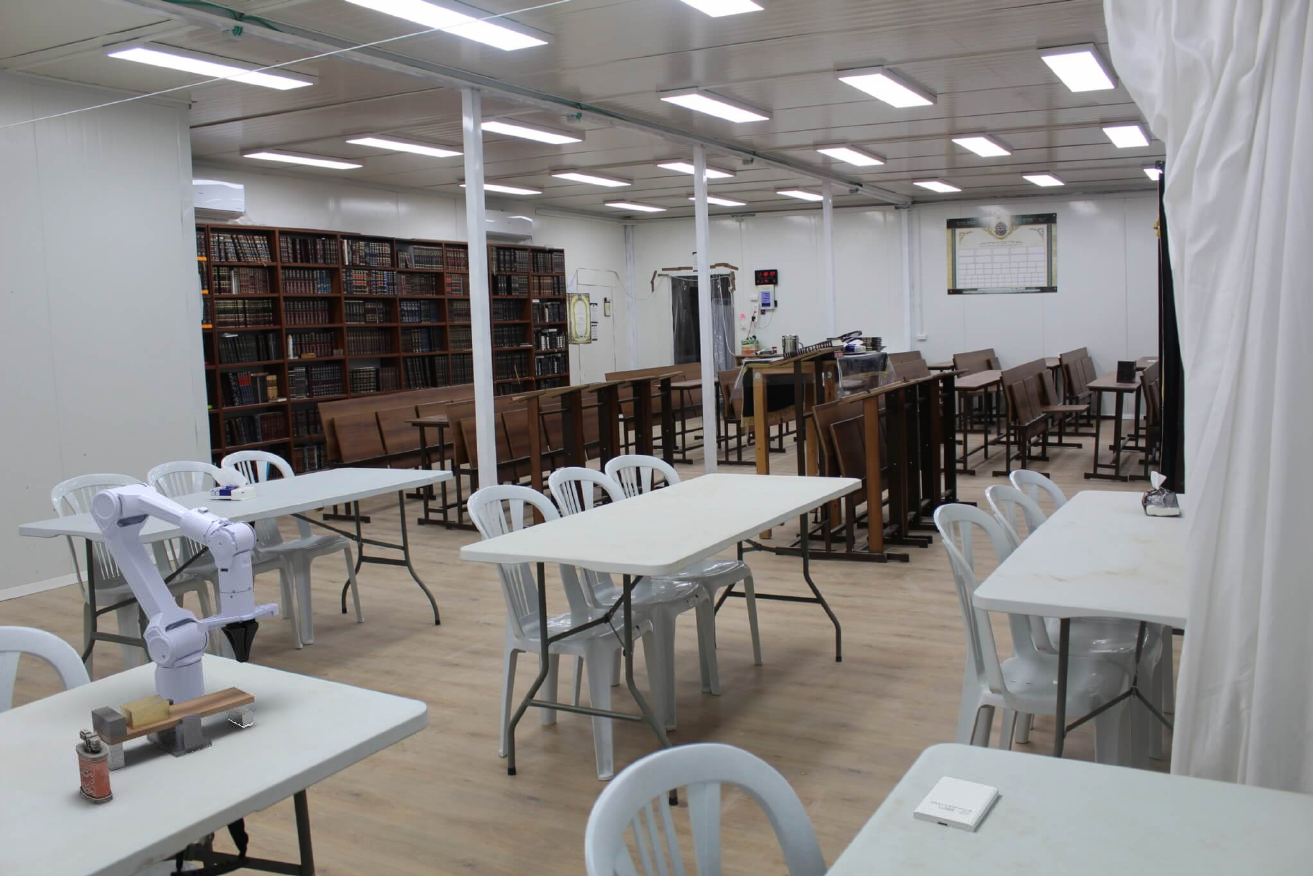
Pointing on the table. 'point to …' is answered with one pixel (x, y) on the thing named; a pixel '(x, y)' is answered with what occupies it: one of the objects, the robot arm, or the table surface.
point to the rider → (145, 711)
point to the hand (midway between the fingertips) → (242, 661)
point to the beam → (116, 730)
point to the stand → (179, 736)
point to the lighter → (93, 768)
